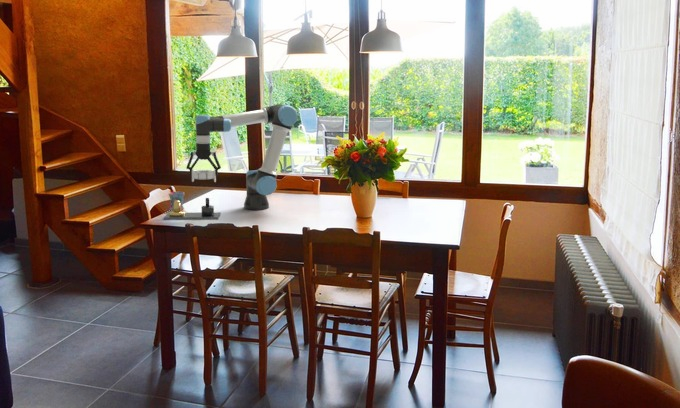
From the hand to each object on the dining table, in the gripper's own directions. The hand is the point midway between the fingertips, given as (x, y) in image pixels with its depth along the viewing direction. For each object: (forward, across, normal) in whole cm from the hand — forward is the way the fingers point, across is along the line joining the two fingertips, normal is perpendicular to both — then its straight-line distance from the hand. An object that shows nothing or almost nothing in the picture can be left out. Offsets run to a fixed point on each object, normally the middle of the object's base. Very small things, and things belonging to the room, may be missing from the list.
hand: (204, 181), depth 380 cm
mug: (+21, +18, -20) cm, 34 cm away
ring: (-2, 0, 0) cm, 2 cm away
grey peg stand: (+20, +7, 0) cm, 22 cm away
